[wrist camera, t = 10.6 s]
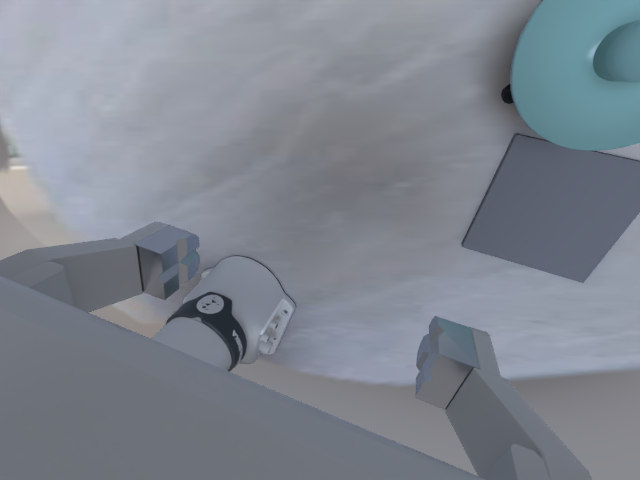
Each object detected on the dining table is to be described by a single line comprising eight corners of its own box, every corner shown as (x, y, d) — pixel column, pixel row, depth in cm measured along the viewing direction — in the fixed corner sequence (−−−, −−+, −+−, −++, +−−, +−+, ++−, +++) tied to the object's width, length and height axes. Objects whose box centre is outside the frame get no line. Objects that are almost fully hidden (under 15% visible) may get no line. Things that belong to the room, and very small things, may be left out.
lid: (657, 164, 22) (710, 186, 18) (482, 128, 24) (491, 140, 20) (824, -63, 16) (969, -114, 11) (567, -81, 18) (607, -128, 14)
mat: (580, 279, 37) (583, 282, 36) (461, 243, 40) (461, 246, 39) (668, 167, 30) (673, 169, 29) (515, 133, 32) (516, 134, 32)
